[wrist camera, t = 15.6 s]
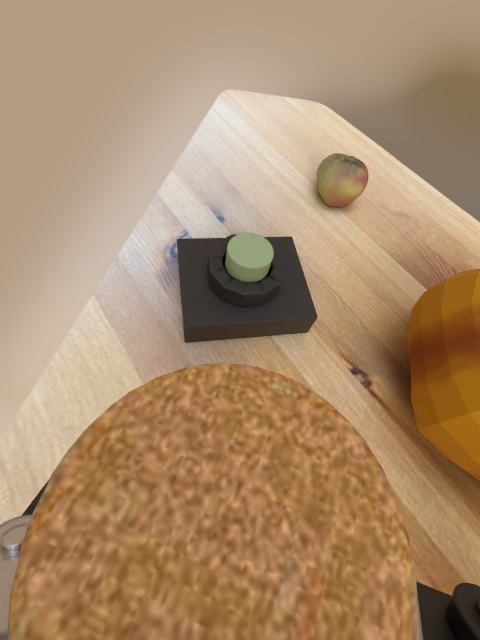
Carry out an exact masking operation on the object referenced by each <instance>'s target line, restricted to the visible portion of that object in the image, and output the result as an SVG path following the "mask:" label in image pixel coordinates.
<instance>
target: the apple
mask: <svg viewBox="0 0 480 640" xmlns="http://www.w3.org/2000/svg"><path fill="white" fill-rule="evenodd" d="M367 182H368V170H367V167H366V166H365V164H364V163H363V162H362V161H360V160H358V159H356V158H355V157H353V156H348V155H344V154H338V153H337V154H332V155H330V156H328V157H326V158H325V159H324V160H323V161H322V163H321V164H320V166H319V168H318V170H317V184H318V191H319V193H320V195H321V197H322V200H323V201H324V203H325V204H326V205H328V206H334V207H340V206H346V205H349V204H350V203H351V202H353V201H354V200H355V199H356V198H357V197H358V196H359V195H361V193H362V192H363V191H364V189H365V187H366V185H367Z"/></svg>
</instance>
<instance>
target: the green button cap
mask: <svg viewBox="0 0 480 640" xmlns="http://www.w3.org/2000/svg"><path fill="white" fill-rule="evenodd" d="M273 256H274V251H273V247H272V245H271V244H270V242H269V241H268V240H266V239H265V238H264V237H262V236H260V235H257V234H254V233H241V234H238V235H236V236H234V237H233V238H232V239H231V240H230V241H229V243H228V246H227V252H226V260H225V266H226V269H227V271H228V273H229V274H230V275H231V276H232V277H233V278H235V279H236V280H238V281H241V282H245V283H254V282H258V281H260V280H262V279H263V278H265V277H266V275H267V274H268V271H269V268H270V265H271V262H272V259H273Z"/></svg>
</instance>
